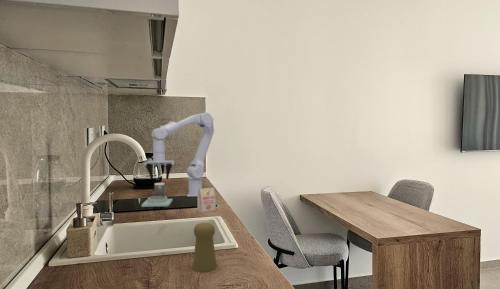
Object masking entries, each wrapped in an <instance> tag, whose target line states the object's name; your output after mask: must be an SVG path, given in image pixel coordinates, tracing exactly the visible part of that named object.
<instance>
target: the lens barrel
mask: <svg viewBox="0 0 500 289" xmlns="http://www.w3.org/2000/svg"><path fill="white" fill-rule="evenodd" d="M154 196H166V182H154Z"/></svg>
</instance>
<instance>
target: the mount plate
mask: <svg viewBox="0 0 500 289" xmlns="http://www.w3.org/2000/svg"><path fill="white" fill-rule="evenodd" d="M173 201H174V200H173V198H167V202H164V203H155V204H153V203H148V198H147V199H146V200H145V201H144V202H142V203H141V208H144V207H147V208H148V207H170V205H171V203H173Z"/></svg>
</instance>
